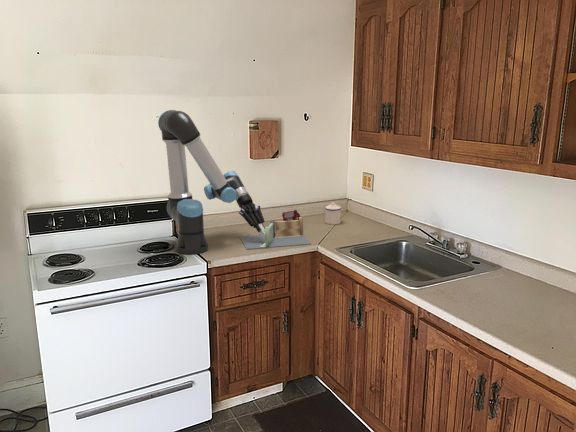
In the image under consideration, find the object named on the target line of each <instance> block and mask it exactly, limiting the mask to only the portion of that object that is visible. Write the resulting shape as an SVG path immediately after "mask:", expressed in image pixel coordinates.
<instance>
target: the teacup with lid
mask: <svg viewBox="0 0 576 432" xmlns="http://www.w3.org/2000/svg"><path fill="white" fill-rule="evenodd" d="M324 216H325V224H327V225H333V226H334V225H340V224H341V221H342V220H341V218H342V207H341V206H340V205H338V204H336V202H331V203H330V204H329V205H326V206H325V207H324Z"/></svg>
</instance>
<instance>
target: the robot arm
mask: <svg viewBox="0 0 576 432" xmlns="http://www.w3.org/2000/svg"><path fill="white" fill-rule="evenodd" d="M157 124H158V129H159V130H160V132H161V137H162V138H161V139H162V141H163V142H164V143H165V145H166V155H167V169H168V177H169V188H170V193H169V194H168V195H167V201H168V202H167V205H166V212H167V214H168V216H169V217H170V218H171V219H172V220H174V221H175V222H177V224H178V225H177V226H178V238H177V241H176V244H175V250H176V253H178V254H181V255H196V254H197V255H198V254H202V253H205V252H207V251H209V242H208V240H207V238H206V235H205V230H204V229H205V226H204V208H203V203H202V201H200V200H198V199H194V198H193V194H192V193H191V191H190V190H189V180H188V167H187V157H186V156H187V155H186V149H187V150H188V152H189V153H190V155H191V157H193V159H194V161H195V163H196V164H197V165H198V168H199V169H200V170H201V171H202V173H203V175H204V177H205V178H206V179H207V181H208V183H209V184H206V185H205V186H204V187H203V192H204V194H205V196H206V199H208V200H213V199H214V200H215V199H218V200H220V201H222V202H223V203H228V204H229V203H233V202H234V201H236V203H237V205H238V207H239V208H240V210H239V211H238V214H239V215H241V216H242V218H243V219H244V220H245V221H246V223H247V224H248V225H249V226H250V228H251V227H253V229H256V231H257V232H258V233H259V235H261V236H262V238H264V237H265V227H266V226H264V223H265V218H264V216H263V215H264V214H263V213H262V210H261V205H256V203H254V201H253V198H252V196H251V195H250V194H249V191H248V190H247V188H246V186H244V183H243V181H242V180H241V177H240V176H239V175H238V173H237V172H236V171H235V170H229V171H227V172H225V173H223V172H222V170H221V168H220V167H219V165H218V164H217V163H216V161H215V159H214V157H213V156H212V154H211V153H210V151H209V149H208V148H207V146H206V145H205V143H204V142H203V140H202V138H201V133H200V131H199V129H198V127H197V125H195V123H194V121H193V119H192V118H191V116H190V115H189V114H188V113H186V112H185V111H183V110H175V109H169V110H166V111H164V112H162V113H161V114H160V116H159V117H158V122H157Z"/></svg>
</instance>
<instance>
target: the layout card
mask: <svg viewBox="0 0 576 432" xmlns="http://www.w3.org/2000/svg"><path fill="white" fill-rule="evenodd" d="M239 238H240V240H241V242H242V244H243V245H244V248H245V250H247V251H248V250H258V249H259V250H260V249H269V248H282V247H293V246H294V247H295V246H307V245H312V242H311V241H309V239H307V237H305V236H304V234H303V235H302V236H288V237H276V232H275V238H272V239H271V241H270V243H269V246H265V237H264V238H262V236H261V235H260V234H251V235H250V234H249V235H239Z"/></svg>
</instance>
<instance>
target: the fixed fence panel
mask: <svg viewBox="0 0 576 432" xmlns="http://www.w3.org/2000/svg"><path fill="white" fill-rule="evenodd" d="M270 223H273V238H275V233H276V237H288V236H302V235H304V217H303V216H301V217H299V220H292V221H283V220H282V221H276V220H270V222H269V224H270Z"/></svg>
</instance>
